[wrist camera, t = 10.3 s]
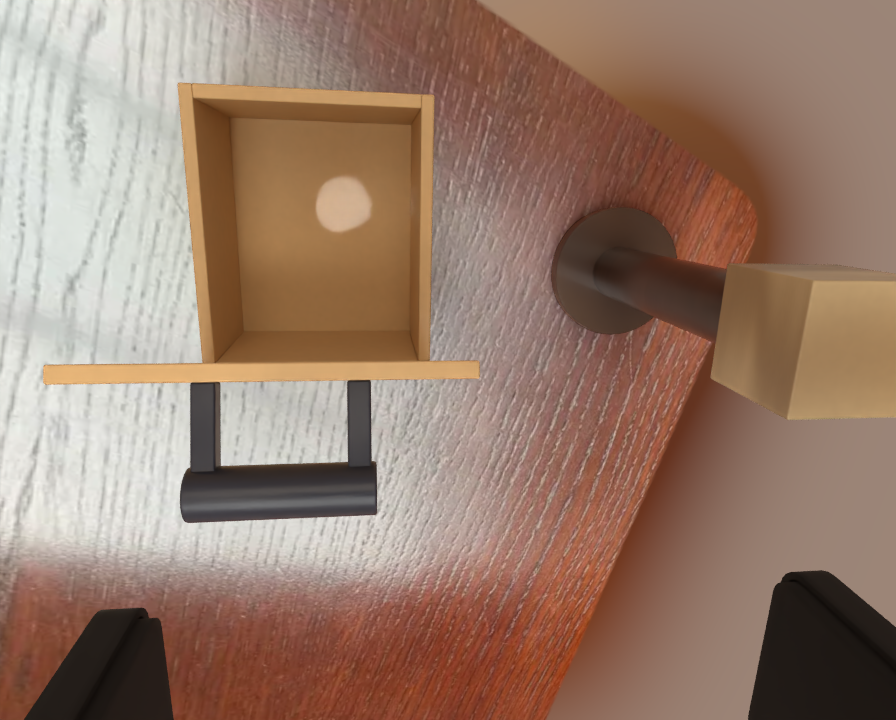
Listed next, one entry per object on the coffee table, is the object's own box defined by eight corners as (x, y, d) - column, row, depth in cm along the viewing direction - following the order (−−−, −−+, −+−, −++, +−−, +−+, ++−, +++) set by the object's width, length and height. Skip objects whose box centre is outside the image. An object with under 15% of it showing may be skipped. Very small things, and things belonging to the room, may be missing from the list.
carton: (219, 106, 33) (176, 82, 25) (420, 115, 34) (434, 94, 27) (236, 338, 36) (203, 374, 29) (418, 337, 38) (429, 371, 30)
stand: (587, 185, 36) (743, 179, 21) (691, 238, 38) (905, 268, 23) (530, 302, 38) (637, 376, 23) (633, 348, 40) (797, 445, 25)
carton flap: (42, 364, 15) (41, 548, 15) (479, 360, 16) (482, 527, 16) (201, 371, 29) (201, 465, 29) (430, 368, 30) (431, 458, 30)
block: (727, 263, 22) (813, 280, 18) (836, 264, 23) (946, 281, 18) (709, 378, 23) (786, 420, 19) (814, 376, 24) (912, 417, 19)
